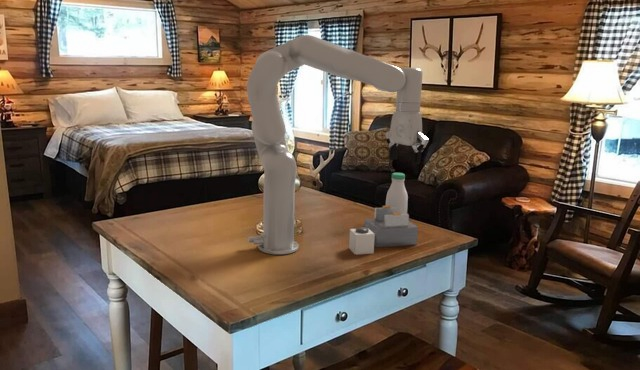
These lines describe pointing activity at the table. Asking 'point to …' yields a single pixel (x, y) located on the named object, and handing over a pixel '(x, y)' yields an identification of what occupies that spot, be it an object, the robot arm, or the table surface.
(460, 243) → the table surface
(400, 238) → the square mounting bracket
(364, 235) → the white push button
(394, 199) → the milk bottle
